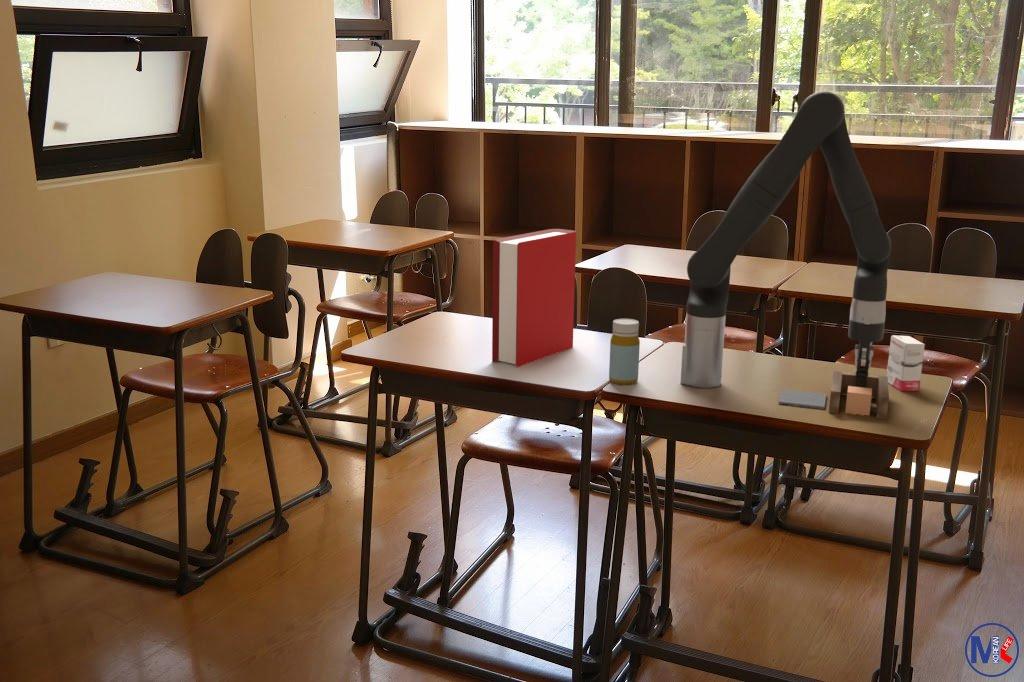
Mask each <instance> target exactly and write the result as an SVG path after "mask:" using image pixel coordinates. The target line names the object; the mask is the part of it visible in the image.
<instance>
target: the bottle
mask: <svg viewBox="0 0 1024 682" xmlns="http://www.w3.org/2000/svg"><path fill="white" fill-rule="evenodd" d="M639 322H640V321H638V320H637V319H633V318H617V319H614V320H613V321H612V335H611V338H610V345H609V368H608V369H609V370H608V379H609V381H610V382H611V383H612V384H615V385H619V386H631V385H634V384H636V383H637V382H638V381H639V369H640V368H639V367H640V366H639V365H640V344H641V343H640V341H641V340H640V338H639V328H640V327H639V326H640V323H639Z"/></svg>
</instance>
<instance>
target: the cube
mask: <svg viewBox="0 0 1024 682" xmlns="http://www.w3.org/2000/svg"><path fill="white" fill-rule="evenodd" d="M871 397H872V388H863V387H854V386H848V392H847V395H846V402H845V403H846V404H845V414H847V413H853V414H852V415H856V414H860V415H859V416H864V415H869V416H870V414H871V404H872V398H871Z"/></svg>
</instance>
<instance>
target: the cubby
mask: <svg viewBox="0 0 1024 682" xmlns="http://www.w3.org/2000/svg"><path fill="white" fill-rule="evenodd" d="M848 386H854V387H855V386H856V372H849V371H847V372H845V371H838V370H833V373H832V379H831V388H830V396H829V397H830V398H829V403H828V404H829V406H828V413H831V414H837V413H838V414H839V409H840V398H841V395H840V394H847V392H848ZM866 388H872V397H874V398H873V399H875V401H876V402H875V403H876V404H877V410H876V418H877V419H880V418H881V419H880V420H882V419H883V420H887V418H888V408H889V399H890V391H889V383H888V376H887V375H876V374H868V376H867V379H866Z"/></svg>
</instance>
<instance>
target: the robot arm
mask: <svg viewBox="0 0 1024 682" xmlns="http://www.w3.org/2000/svg"><path fill="white" fill-rule="evenodd" d="M845 112H846V110H845V104H844V102H843V101H842V99H841V98H840V96H838V95H837V94H835V93H833V92H830V91H827V90H826V91H823V90H821V91H816V92H813V93H812V94H810V95H809V96H808V97H805V99H804V101H802V103H801V105H800V107H799V109H798V111H797V113H796V115H795V116H794V118H793V119H792V121H791V123H790V125H789V126H788V128H787V129H786V131H785V133H784V135H782V138H780V140H779V141H778V143H777V144H776V145H775V146H774V148H772V150H771V151H770V152H769V153H767V155H766V156H765V157H764V159H762V160H761V162H760V163H759V164H758V166H756V168H755V169H754V171H752V173H751V174H750V176H749V177H748V178H747V180H746V181H745V183H744V184H743V185H742V186H741V188H740V190H739V191H738V192H737V194H736V195H735V197H734V198H733V199H732V202H731V204H730V205H729V207H728V209H727V210H726V212H725V213H724V215H723V217H722V218H721V221H720V223H719V224H718V225H717V227H716V228H715V230H714V231H713V232H712V233H711V235H709V237H707V239H706V240H705V242H704V243H703V244H702V245H701V246H699V248H698V249H697V250H696V251H695V252H694V253H693V254H692V255H691V256H690V258H689V260H688V262H687V266H686V272H687V277H688V279H689V281H690V287H689V294H688V298H687V302H686V315H685V316H686V318H685V331H684V332H685V333H684V334H685V335H684V344H683V345H682V350H681V351H682V354H681V372H680V384H681V385H687V386H691V387H692V388H693V387H695V388H703V389H704V388H706V389H710V388H715V387H719V386H721V384H722V377H723V376H722V373H723V358H724V345H725V329H726V317H727V306H728V301H729V293H730V292H729V291H730V280H731V267H732V264H733V262H734V260H735V259H736V257H737V256H738V254H739V253H740V251H741V249H742V248H743V247H744V246H745V245H746V243H747V242H748V241H749V240H750V239H751V238H752V237H753V236H754V235H755V234H756V233H758V231H759V230H760V229H761V228H762V227H763V226H764V225H765V224H766V222H768V220H769V219H770V218H771V216H772V215H773V214H774V213H775V212H776V211H777V210H778V208H779V207H780V205H781V204H782V202H784V200H785V199H786V197H787V196H788V194H789V193H790V191H791V189H792V188H793V186H794V184H795V183H796V181H797V179H798V177H799V176H800V173H801V172H802V170H803V168H804V166H805V164H806V163H807V161H808V160H809V158H811V156H812V155H813V154H814V152H816V150H817V149H818V148H820V150H821V152H822V155H823V157H824V159H825V163H826V165H827V169H828V172H829V175H830V178H831V183H832V186H833V189H834V193H835V195H836V198H837V201H838V203H839V206H840V208H841V210H842V213H843V216H844V218H845V220H846V222H847V225H848V226H849V230H850V233H851V238H852V241H853V243H854V246H855V249H856V252H857V261H856V273H855V277H854V282H853V289H852V290H853V291H852V299H851V304H850V309H849V322H848V331H847V332H848V333H847V336H848V338H849V339H851V340H853V341H858V342H859V344H855V347H854V357H855V360H854V367H855V369H856V370H855V373H856V386H855V387H863V388H866V379H867V376H868V375H869V370H870V369H871V367H872V366H871V365H872V358H873V357H874V345H871V343H878V342H881V341H883V339H884V334H885V323H886V311H887V310H886V309H887V304H886V302H887V291H888V270H889V262H890V255H891V252H892V239H891V237H890V235H889V234H888V233H887V232H886V229H885V227H884V225H883V222H882V220H881V218H880V216H879V209H878V206H877V203H876V200H875V198H874V195H873V192H872V190H871V187H870V185H869V183H868V180H867V177H866V176H865V173H864V172H863V169H862V166H861V165H860V162H859V160H858V158H857V155H856V153H855V150H854V147H853V144H852V142H851V138H850V135H849V132H848V131H849V130H848V127H847V126H848V125H847V120H846V116H845Z"/></svg>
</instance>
